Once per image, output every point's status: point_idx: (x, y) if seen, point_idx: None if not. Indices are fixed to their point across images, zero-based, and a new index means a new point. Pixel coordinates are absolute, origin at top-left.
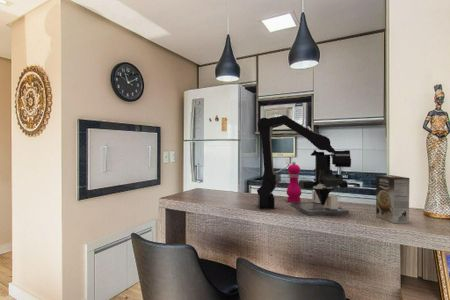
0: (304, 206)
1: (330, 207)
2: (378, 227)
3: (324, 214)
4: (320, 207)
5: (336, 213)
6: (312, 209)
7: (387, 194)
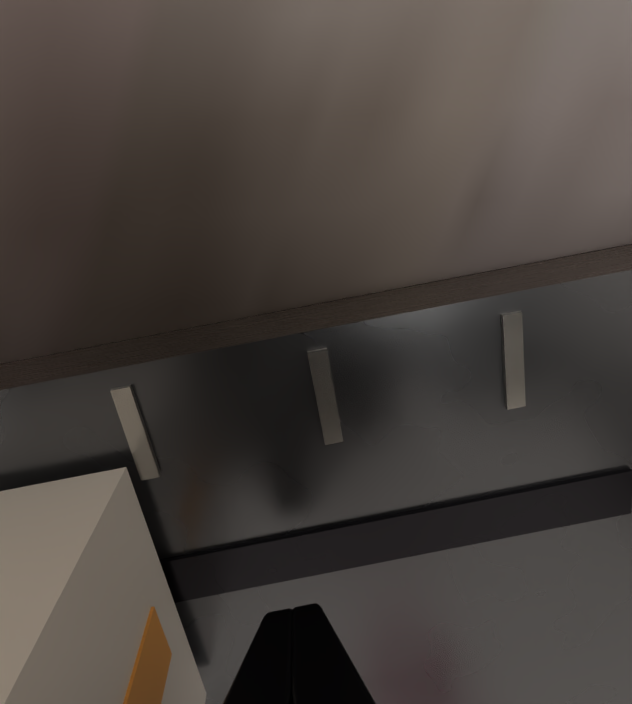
0: (603, 685)
1: (122, 515)
2: None
3: (329, 305)
4: None
5: (37, 365)
6: (559, 470)
7: None
